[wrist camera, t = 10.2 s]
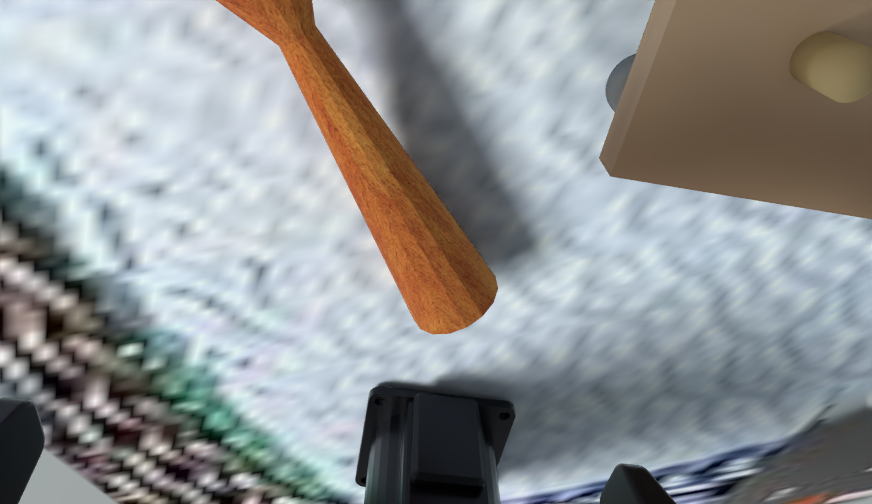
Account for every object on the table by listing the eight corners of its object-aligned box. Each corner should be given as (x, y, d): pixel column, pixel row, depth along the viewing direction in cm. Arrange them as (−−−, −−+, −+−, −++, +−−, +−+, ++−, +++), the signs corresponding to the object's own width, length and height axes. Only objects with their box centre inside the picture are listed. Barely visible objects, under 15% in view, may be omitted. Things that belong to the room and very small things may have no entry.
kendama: (366, 379, 20) (-298, -424, 8) (397, 262, 24) (-11, -367, 13) (533, 348, 17) (-62, -794, 6) (533, 225, 22) (185, -571, 11)
